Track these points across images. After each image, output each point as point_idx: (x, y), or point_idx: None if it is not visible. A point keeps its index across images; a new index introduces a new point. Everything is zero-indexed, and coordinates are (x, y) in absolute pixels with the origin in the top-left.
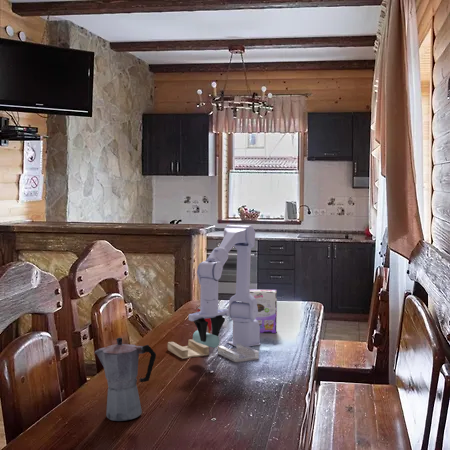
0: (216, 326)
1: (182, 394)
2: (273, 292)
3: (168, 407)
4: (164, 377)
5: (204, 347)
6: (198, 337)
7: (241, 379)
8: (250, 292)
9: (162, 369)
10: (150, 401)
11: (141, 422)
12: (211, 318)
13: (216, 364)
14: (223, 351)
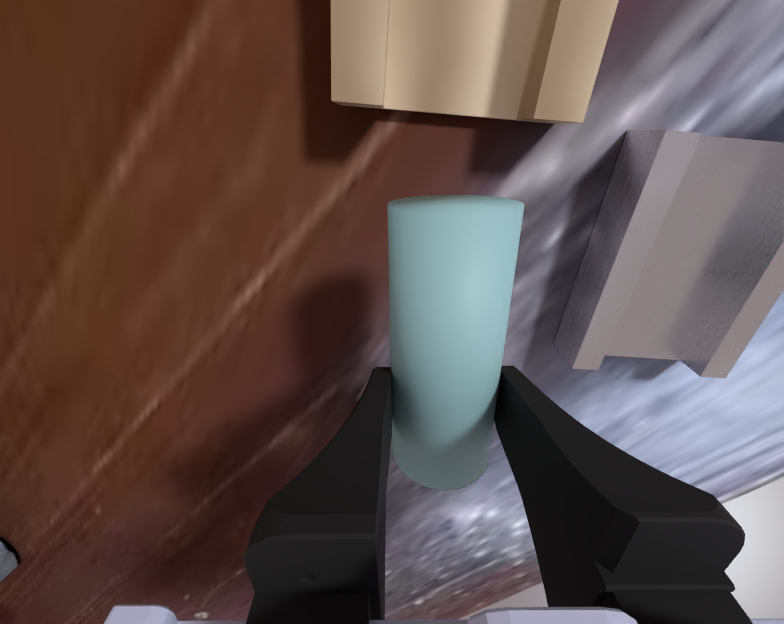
0: (536, 512)
1: (167, 508)
2: None
3: (104, 551)
4: (136, 357)
5: (544, 114)
6: (390, 317)
7: (417, 494)
8: None
9: (148, 247)
10: (52, 508)
11: (22, 580)
12: (602, 522)
13: None
14: (616, 222)
